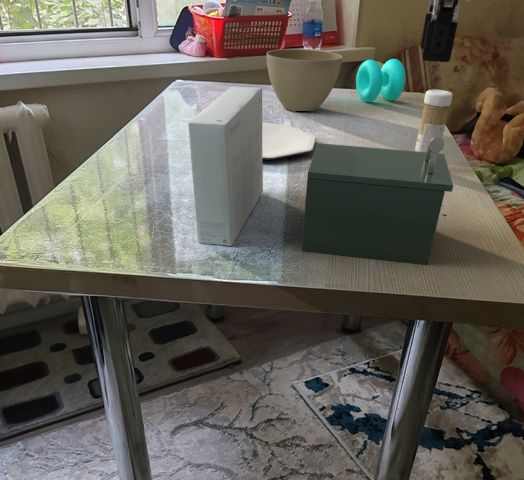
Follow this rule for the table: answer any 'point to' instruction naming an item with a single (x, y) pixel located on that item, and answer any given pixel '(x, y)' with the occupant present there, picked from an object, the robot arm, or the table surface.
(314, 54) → the flower pot
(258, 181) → the skincare box
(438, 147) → the bin lid
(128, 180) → the table surface
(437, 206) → the trash bin
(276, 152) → the plate
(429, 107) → the sprinkles bottle
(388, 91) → the turquoise yoyo
